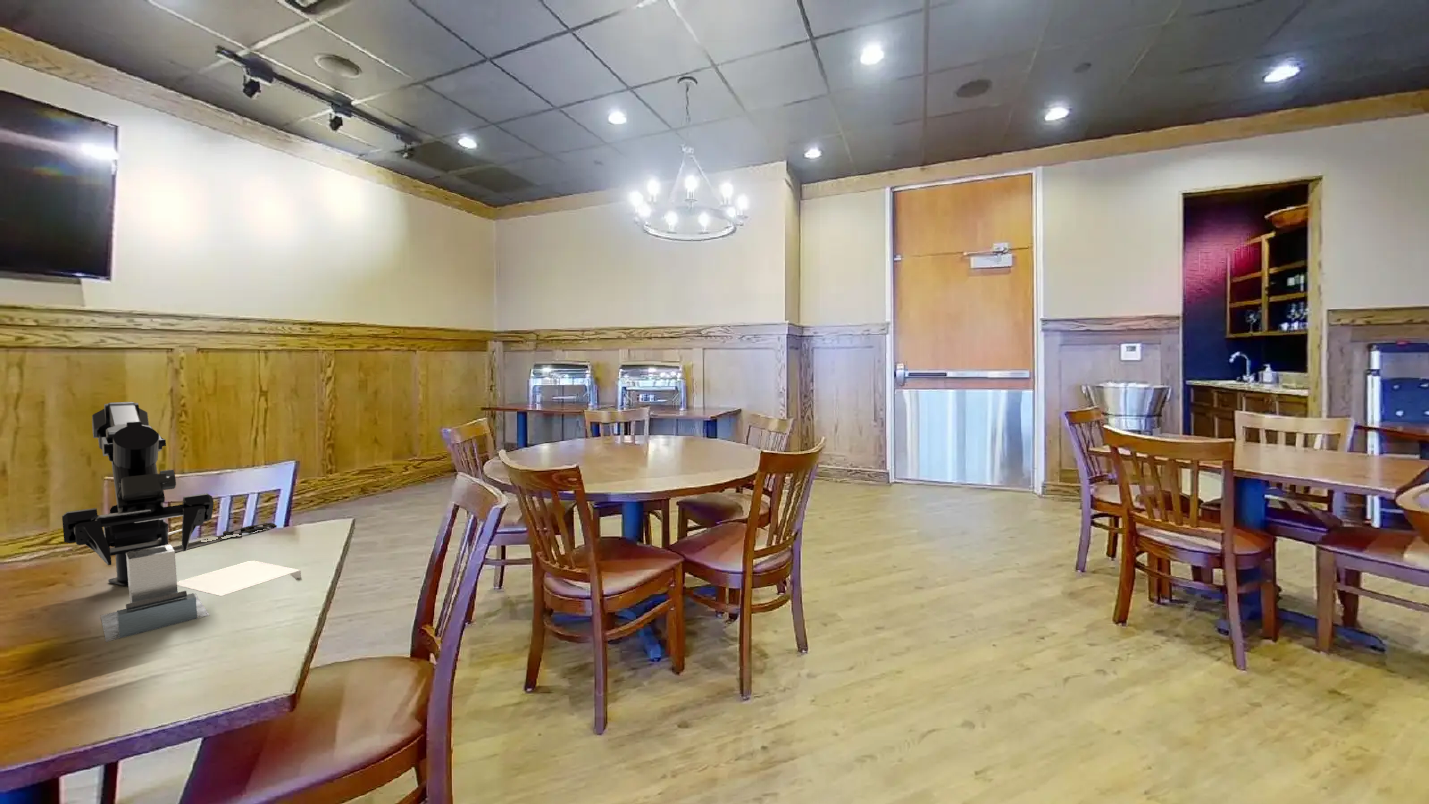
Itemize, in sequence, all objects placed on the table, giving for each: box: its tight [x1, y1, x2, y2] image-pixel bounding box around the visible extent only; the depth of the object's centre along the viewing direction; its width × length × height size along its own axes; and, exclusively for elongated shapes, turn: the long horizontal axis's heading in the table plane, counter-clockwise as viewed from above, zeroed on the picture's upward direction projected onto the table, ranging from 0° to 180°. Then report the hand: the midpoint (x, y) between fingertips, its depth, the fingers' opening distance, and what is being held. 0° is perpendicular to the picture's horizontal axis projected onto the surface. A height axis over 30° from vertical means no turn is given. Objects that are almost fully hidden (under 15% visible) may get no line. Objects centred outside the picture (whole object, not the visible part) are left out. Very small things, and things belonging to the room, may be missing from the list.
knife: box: [172, 522, 278, 553], centre depth 143 cm, size 25×6×1 cm, turn 155°
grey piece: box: [100, 590, 210, 643], centre depth 96 cm, size 14×12×6 cm
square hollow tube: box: [126, 544, 178, 603], centre depth 96 cm, size 5×5×11 cm
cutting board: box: [177, 559, 302, 597], centre depth 114 cm, size 16×14×2 cm
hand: (148, 556), depth 98 cm, fingers open, 9 cm apart
